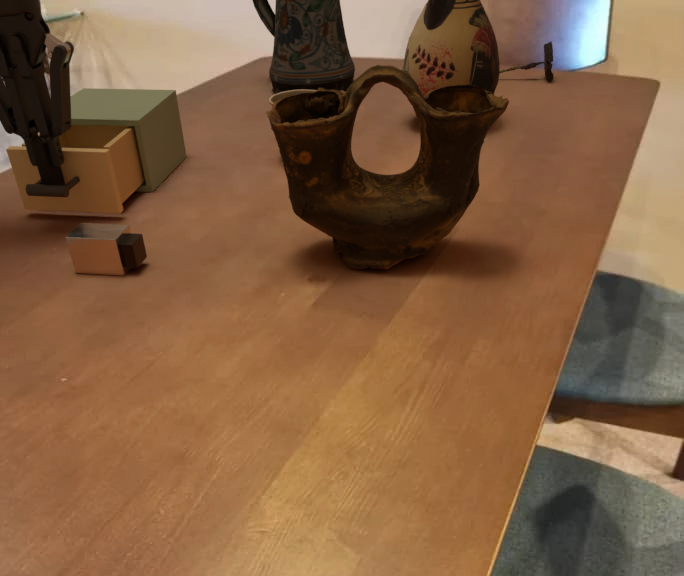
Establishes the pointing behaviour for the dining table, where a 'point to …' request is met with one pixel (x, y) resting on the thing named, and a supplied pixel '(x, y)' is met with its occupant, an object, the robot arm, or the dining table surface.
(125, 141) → the drawer
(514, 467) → the dining table surface
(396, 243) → the pottery vessel
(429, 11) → the ceramic jug
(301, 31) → the beer stein
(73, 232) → the black-capped tan block
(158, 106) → the cabinet
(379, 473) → the dining table surface
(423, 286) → the dining table surface
